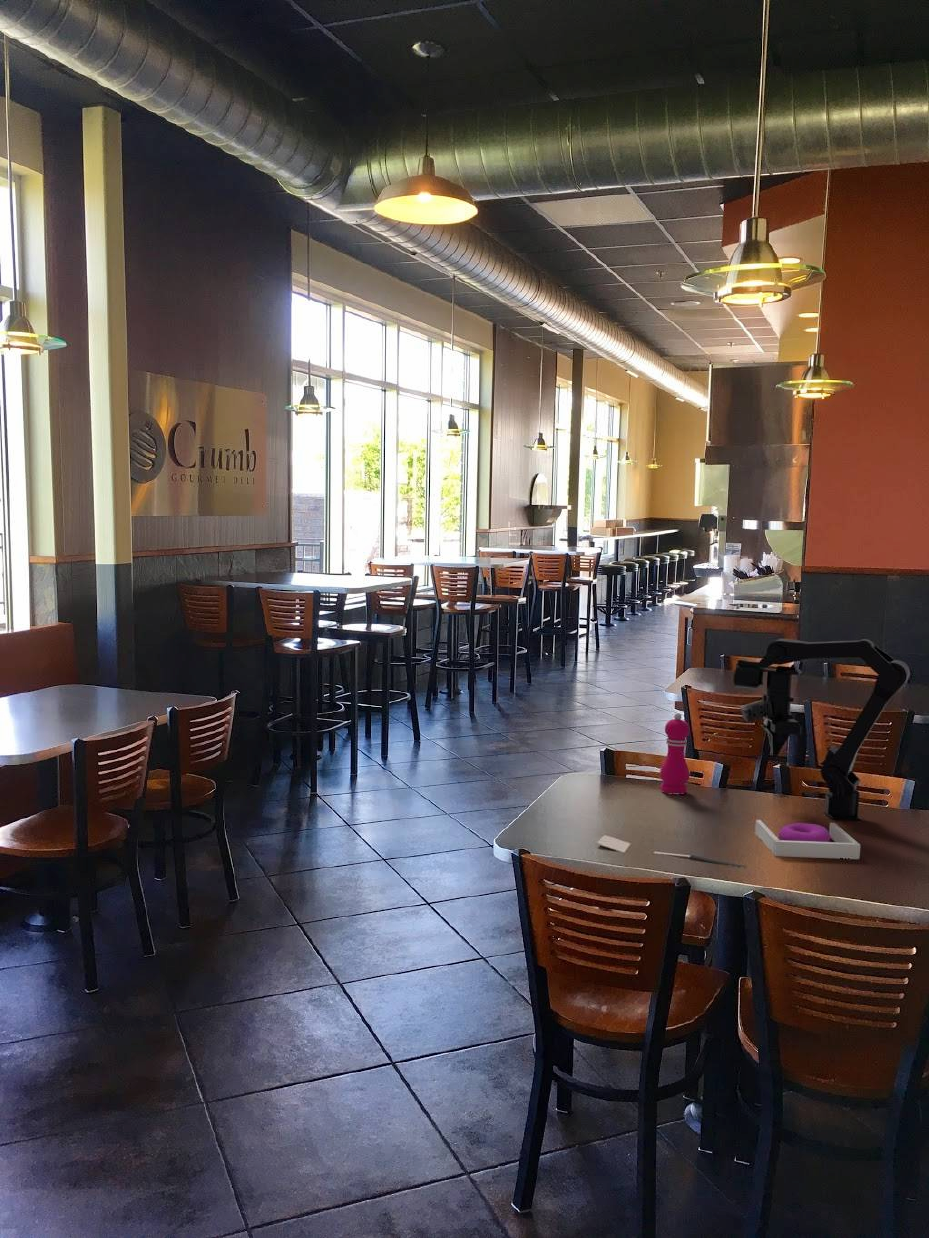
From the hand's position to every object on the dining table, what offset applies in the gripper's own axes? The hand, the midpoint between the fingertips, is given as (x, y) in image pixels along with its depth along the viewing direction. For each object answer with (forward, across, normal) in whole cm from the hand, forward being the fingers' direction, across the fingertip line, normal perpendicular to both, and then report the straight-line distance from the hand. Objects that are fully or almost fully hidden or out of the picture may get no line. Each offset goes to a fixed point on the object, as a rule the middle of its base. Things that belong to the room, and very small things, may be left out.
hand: (774, 755), depth 233 cm
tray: (+12, +30, -2) cm, 33 cm away
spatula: (+13, +40, -32) cm, 52 cm away
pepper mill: (+12, -8, -22) cm, 26 cm away
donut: (+12, +31, -2) cm, 34 cm away
